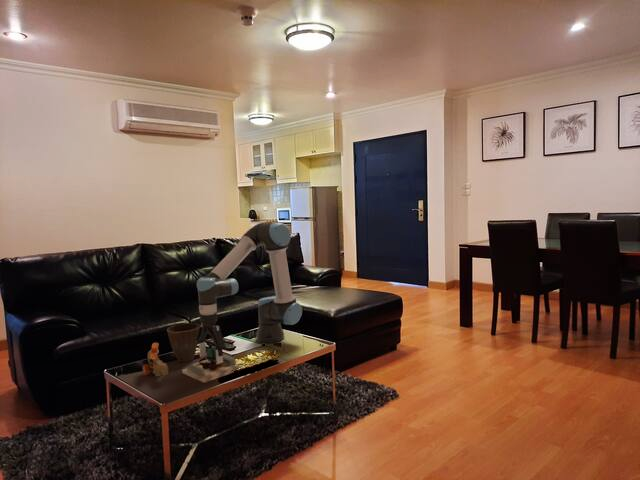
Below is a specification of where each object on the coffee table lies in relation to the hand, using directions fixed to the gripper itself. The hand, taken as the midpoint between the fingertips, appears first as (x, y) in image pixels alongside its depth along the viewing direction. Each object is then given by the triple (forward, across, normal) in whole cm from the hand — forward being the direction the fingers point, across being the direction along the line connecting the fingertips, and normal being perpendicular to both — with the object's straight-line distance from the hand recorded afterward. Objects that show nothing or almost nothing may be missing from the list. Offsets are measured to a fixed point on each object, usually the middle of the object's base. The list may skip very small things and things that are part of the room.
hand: (211, 359), depth 198 cm
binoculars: (+4, 0, 0) cm, 4 cm away
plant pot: (+5, -24, 0) cm, 25 cm away
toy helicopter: (+6, -14, -18) cm, 24 cm away
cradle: (+5, 0, 0) cm, 5 cm away
